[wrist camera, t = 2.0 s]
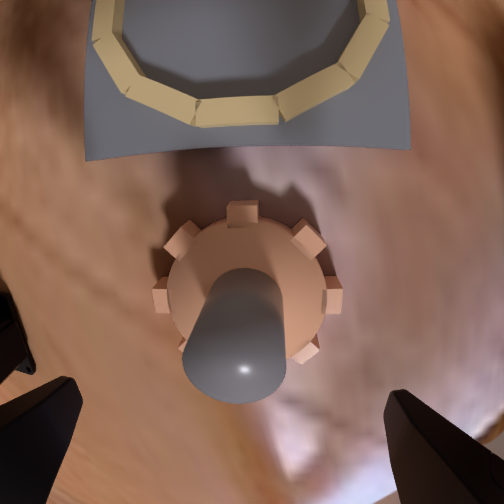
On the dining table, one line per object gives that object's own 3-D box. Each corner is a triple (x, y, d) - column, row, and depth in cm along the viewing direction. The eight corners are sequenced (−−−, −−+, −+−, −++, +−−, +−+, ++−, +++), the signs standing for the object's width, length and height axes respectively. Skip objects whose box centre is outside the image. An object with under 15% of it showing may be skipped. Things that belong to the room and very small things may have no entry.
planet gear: (175, 356, 16) (139, 436, 11) (154, 204, 14) (85, 237, 8) (329, 358, 16) (348, 444, 10) (339, 199, 13) (385, 232, 8)
